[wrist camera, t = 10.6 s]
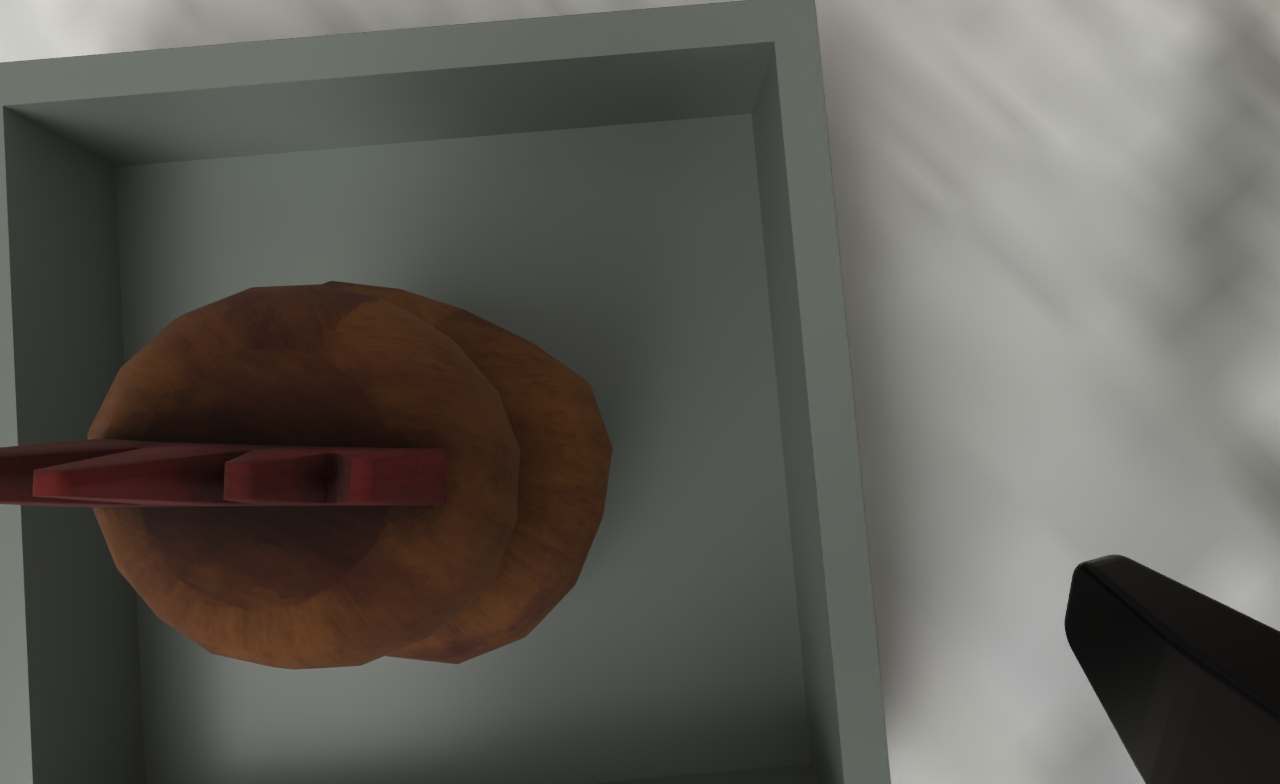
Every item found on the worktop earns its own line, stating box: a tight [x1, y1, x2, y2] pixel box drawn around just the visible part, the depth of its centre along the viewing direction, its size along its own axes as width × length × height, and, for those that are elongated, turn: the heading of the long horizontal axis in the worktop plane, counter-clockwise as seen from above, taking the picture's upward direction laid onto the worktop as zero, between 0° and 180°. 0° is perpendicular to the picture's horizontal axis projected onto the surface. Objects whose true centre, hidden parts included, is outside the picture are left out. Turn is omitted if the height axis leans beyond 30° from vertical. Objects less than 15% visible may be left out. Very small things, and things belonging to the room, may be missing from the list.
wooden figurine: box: [0, 281, 613, 670], centre depth 14 cm, size 7×6×15 cm
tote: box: [0, 0, 891, 784], centre depth 20 cm, size 16×16×4 cm
